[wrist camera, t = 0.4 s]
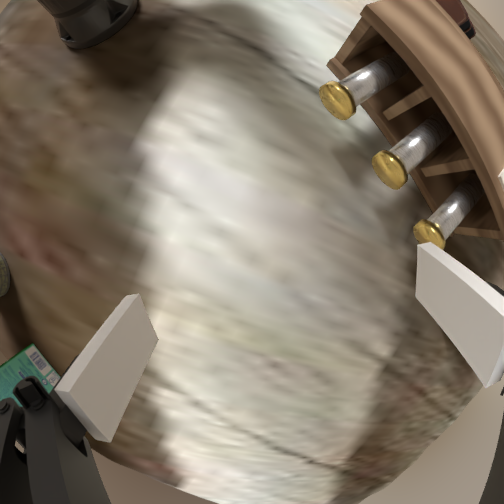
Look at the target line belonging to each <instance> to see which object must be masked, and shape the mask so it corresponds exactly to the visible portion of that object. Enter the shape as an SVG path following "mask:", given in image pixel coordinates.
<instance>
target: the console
mask: <svg viewBox="0 0 504 504" xmlns="http://www.w3.org/2000/svg"><path fill="white" fill-rule="evenodd" d="M360 15H361V16H362V17H361V19H360V20H359V22H358V23H357V25H356V26H355V28H354V29H353V31H352V32H351V33H350V35H349V36H348V38H347V39H346V41H345V42H344V44H343V45H342V47H341V48H340V50H339V51H338V53H337V54H336V56H335V57H334V58H332V59H330V60H329V62H328V64H327V65H326V66H327V67H328V68H329V69H330V70H331V71H332V72H333V73H334V74H335V75H336V76H337V77H338V79H339V80H340V81H341V80H343V79H344V78H346V77H348V76H349V75H351V74H353V73H355V72H356V71H358V70H360V69H362V68H363V67H365V66H367V65H369V64H371V63H372V62H374V61H376V60H378V59H380V58H382V57H384V56H385V55H387V54H389V53H391V52H397V53H398V54H399V55H400V56H401V58H402V59H403V60H404V61H405V62H406V64H407V65H408V66H409V72H408V73H407V74H406V75H404V76H403V77H401V78H400V79H398V80H396V81H395V82H393V83H392V84H390V85H388V86H387V87H385V88H384V89H382V90H381V91H379V92H378V93H376V94H375V95H373V96H372V97H370V98H369V99H367V100H365V101H364V102H362V103H361V106H362V107H363V108H364V109H365V111H366V112H367V113H368V114H369V116H370V117H371V118H372V120H373V121H374V122H375V123H376V125H377V126H378V127H379V129H380V130H381V132H382V133H383V134H384V136H385V137H386V138H387V140H388V141H389V143H390V144H391V146H392V147H394V146H395V145H396V144H397V143H399V142H400V141H401V140H402V139H403V138H405V137H406V136H407V135H408V134H410V133H411V132H412V131H413V130H414V129H416V128H417V127H418V126H419V125H420V124H422V123H423V122H424V121H425V120H426V119H428V118H429V117H430V116H431V115H432V114H434V113H435V112H442V113H443V114H444V115H445V117H446V119H447V120H448V122H449V123H450V125H451V127H452V128H453V132H452V133H451V134H450V135H449V136H448V137H447V138H446V139H445V140H444V141H443V142H442V143H441V144H440V145H439V146H438V147H437V148H436V149H434V150H433V151H432V152H431V153H430V154H429V155H428V156H427V157H426V158H425V159H424V160H423V161H422V162H421V163H420V164H418V165H417V166H416V167H415V168H414V169H413V170H412V171H411V172H410V175H411V176H412V178H413V180H414V181H415V183H416V185H417V186H418V188H419V190H420V191H421V193H422V195H423V197H424V198H425V200H426V202H427V204H428V206H429V207H430V209H431V211H432V213H434V212H435V211H436V210H437V209H438V208H439V207H440V206H441V205H442V204H443V203H444V201H445V200H446V199H447V198H448V197H449V196H450V195H451V194H452V193H453V191H454V190H455V189H456V188H457V187H458V186H459V185H460V184H461V182H462V181H463V180H464V179H465V178H466V177H467V175H468V174H470V173H473V174H476V175H477V176H478V177H479V179H480V181H481V184H482V186H483V188H484V190H485V192H484V194H483V195H482V196H481V198H480V199H479V200H478V202H477V203H476V204H475V205H474V207H473V208H472V209H471V210H470V212H469V213H468V214H467V215H466V217H465V218H464V219H463V220H462V221H461V223H460V224H459V225H458V226H457V227H456V228H455V230H454V231H453V232H452V233H451V234H450V235H449V237H452V236H453V235H454V234H462V235H470V236H477V237H485V238H492V239H499V240H503V241H504V90H503V88H502V87H501V85H500V83H499V82H498V80H497V78H496V77H495V75H494V74H493V72H492V70H491V69H490V67H489V66H488V64H487V63H486V61H485V60H484V59H483V57H482V56H481V54H480V53H479V51H478V50H477V49H476V47H475V46H474V45H473V43H472V42H471V41H470V39H469V38H468V37H467V36H466V34H465V33H464V32H463V31H462V29H461V28H460V27H459V26H458V25H457V23H456V22H455V21H454V20H453V19H452V18H451V17H450V15H449V14H448V13H447V12H446V11H445V10H444V9H443V8H442V7H441V6H440V5H439V4H438V3H437V2H436V0H381V1H377V2H374V3H371V4H368V5H366V6H365V7H364V9H363V10H362V12H361V13H360Z"/></svg>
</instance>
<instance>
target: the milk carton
mask: <svg viewBox="0 0 504 504" xmlns="http://www.w3.org/2000/svg"><path fill="white" fill-rule="evenodd" d="M28 376H36V377H37V378H38V379H39V381H40V382H41V384H42V385H43V386H44V388H45V389H46V390H47V392H48V393H50V392H51V390H52V389H53V387H54V386H55V385H56V383H57V382H58V380H59V379H60V378H61V377H60V376H59V375H58V373H57V372H56V371H55V370H54V369H53V368H52V366H51V365H50V364H49V363H48V362H47V360H46V359H45V358H44V357H43V355H42V354H41V353H40V352H39V350H38V349H37V348H36V346H35V345H34V344H33V343H31V344H30V345H29V346H27V347H26V348H24V349H23V350H22V351H20V352H19V353H17V354H16V355H15V356H13V357H12V358H10V359H9V360H8V361H6V362H5V363H3V364H2V365H1V366H0V401H2V399H5V398H8V397H11V398H13V399H14V400H15V401H16V403H17V404H18V405H19V406H20V407H22V405H21V404H20V402H19V401H18V400H17V398H16V397H15V396H14V394H13V393H12V392H13V389H14V387H15V386H16V384H17V383H18V382H19V381H21V380H22V379H24V378H25V377H28Z"/></svg>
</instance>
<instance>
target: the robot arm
mask: <svg viewBox="0 0 504 504" xmlns="http://www.w3.org/2000/svg"><path fill="white" fill-rule="evenodd" d="M37 1H38V2H39V3H40V4H41V5H42V6H43V7H44V8H45V9H46V10H47V11H48V12H49V13H50V14H51V15H52V16H53V17H54V19H55V22H56V26H57V29H58V33H59V36H60V38H61V40H62V41H63V42H64V43H65V44H66V45H67V46H69V47H71V48H75V49H82V48H87V47H91V46H93V45H96V44H98V43H100V42H102V41H104V40H106V39H108V38H109V37H111V36H112V35H114V34H115V33H116V32H118V31H119V30H120V29H121V28H122V27H123V26H124V25H125V24H126V23H127V22H128V21H129V20H130V18H131V17H132V16H133V14H134V12H135V10H136V7H137V0H37ZM415 297H416V298H417V299H418V301H419V302H420V303H421V304H422V305H423V306H424V308H425V309H426V310H427V311H428V312H429V314H430V315H431V316H432V317H433V318H434V320H435V321H436V322H437V323H438V325H439V326H440V327H441V328H442V330H443V331H444V332H445V333H446V335H447V336H448V337H449V338H450V340H451V341H452V342H453V344H454V345H455V346H456V348H457V349H458V350H459V352H460V353H461V354H462V356H463V357H464V358H465V360H466V361H467V362H468V364H469V365H470V366H471V368H472V369H473V371H474V372H475V373H476V375H477V376H478V378H479V379H480V381H481V382H482V384H483V385H484V387H485V388H487V387H489V386H491V385H492V384H494V383H496V382H498V381H500V380H501V378H502V375H503V373H504V291H503V290H502V289H500V288H499V287H498V286H496V285H494V284H491V283H489V282H485V281H483V280H482V279H481V278H480V277H478V276H477V275H476V274H474V273H473V272H472V271H471V270H469V269H468V268H467V267H465V266H464V265H463V264H461V263H460V262H458V261H457V260H456V259H454V258H453V257H452V256H450V255H449V254H447V253H446V252H445V251H443V250H442V249H440V248H439V247H437V246H436V245H434V244H433V243H431V242H428V243H423V244H418V245H417V278H416V294H415ZM158 340H159V339H158V337H157V335H156V333H155V330H154V328H153V326H152V324H151V321H150V319H149V317H148V314H147V312H146V309H145V307H144V304H143V302H142V299H141V297H140V294H134V295H127V296H126V297H125V298H124V299H123V300H122V301H121V303H120V304H119V305H118V306H117V307H116V309H115V310H114V311H113V312H112V314H111V315H110V316H109V317H108V319H107V320H106V321H105V322H104V324H103V325H102V326H101V327H100V329H99V330H98V331H97V332H96V334H95V335H94V336H93V338H92V339H91V340H90V341H89V343H88V344H87V345H86V347H85V348H84V349H83V351H82V352H81V353H80V354H79V355H77V356H76V357H75V359H74V360H73V361H72V363H71V364H70V366H69V367H68V368H67V369H66V371H65V373H63V375H62V376H61V378H60V379H59V380H58V382H57V383H56V385H55V386H54V387H53V389H52V390H51V392H50V393H48V392H47V390H46V389H45V388H44V386H43V385H42V384H41V382H40V381H39V379H38V378H37V377H36V376H28V377H25V378H24V379H22V380H21V381H19V382H18V383H17V384H16V386H15V387H14V389H13V392H12V393H13V394H14V396H15V397H16V398H17V400H18V401H19V402H20V404H21V405H22V407H20V406H19V405H18V404H17V403H16V401H15V400H14V399H13V398H11V397H8V398H5V399H2V401H0V504H111V502H110V500H109V498H108V495H107V492H106V490H105V488H104V485H103V482H102V480H101V477H100V475H99V472H98V469H97V466H96V463H95V461H94V457H93V454H92V451H91V448H90V445H89V442H88V440H87V439H86V438H85V436H84V435H85V433H86V431H88V432H89V433H90V434H91V435H92V436H93V438H94V439H95V440H100V441H104V442H110V443H111V441H112V438H113V436H114V434H115V432H116V429H117V427H118V425H119V423H120V420H121V418H122V416H123V414H124V411H125V409H126V407H127V405H128V403H129V401H130V398H131V396H132V394H133V392H134V390H135V388H136V386H137V383H138V381H139V379H140V377H141V375H142V373H143V371H144V369H145V367H146V365H147V363H148V360H149V358H150V356H151V354H152V352H153V350H154V348H155V346H156V344H157V342H158ZM503 394H504V387H503V390H502V392H501V394H500V395H502V396H503ZM15 441H17V442H18V443H19V444H20V445H21V446H22V447H23V448H24V452H23V453H22V452H20V451H19V450H18V449H17V448H16V447H15ZM479 504H504V413H503V419H502V425H501V430H500V435H499V440H498V444H497V448H496V452H495V457H494V460H493V463H492V467H491V470H490V474H489V477H488V480H487V483H486V486H485V489H484V491H483V494H482V497H481V499H480V502H479Z"/></svg>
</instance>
